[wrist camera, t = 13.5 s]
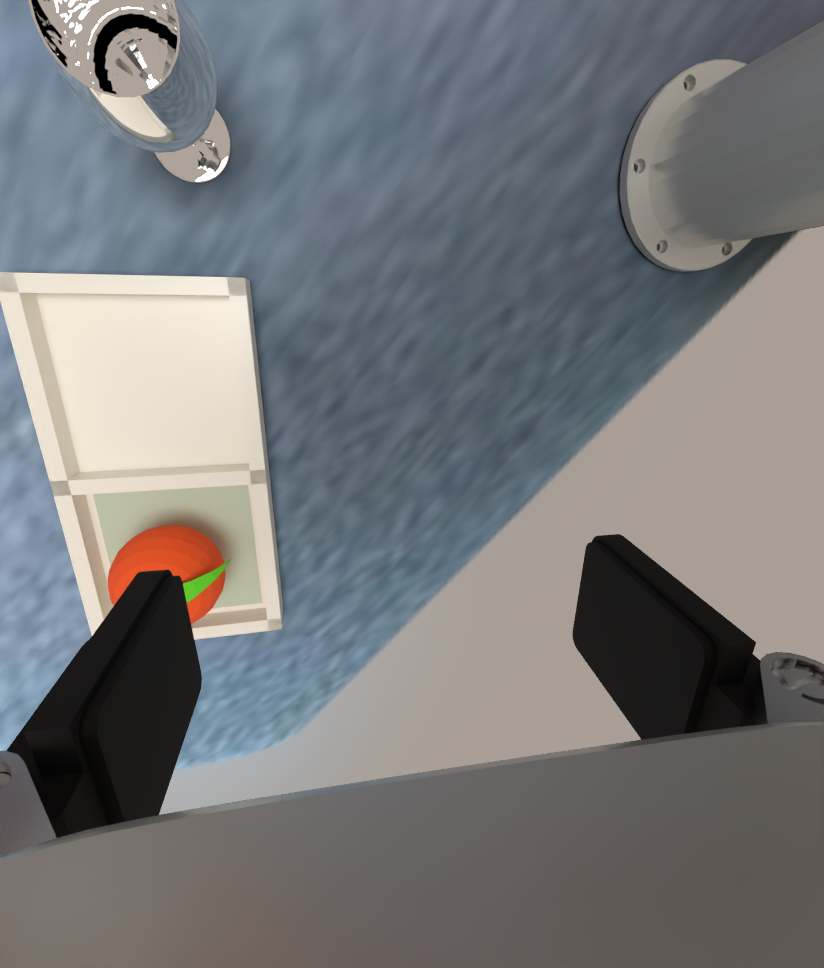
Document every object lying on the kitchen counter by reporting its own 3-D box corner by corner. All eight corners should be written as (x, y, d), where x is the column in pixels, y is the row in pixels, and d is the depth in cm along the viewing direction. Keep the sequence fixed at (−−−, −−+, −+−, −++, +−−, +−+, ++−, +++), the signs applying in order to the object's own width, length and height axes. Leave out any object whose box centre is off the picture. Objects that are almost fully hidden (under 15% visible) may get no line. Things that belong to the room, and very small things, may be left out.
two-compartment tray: (249, 280, 30) (244, 277, 28) (283, 610, 38) (281, 629, 36) (19, 275, 27) (-8, 272, 25) (109, 629, 36) (96, 651, 34)
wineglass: (224, 214, 28) (169, 150, 17) (122, 162, 27) (-11, 53, 16) (256, 115, 27) (219, -23, 16) (151, 53, 25) (29, -151, 14)
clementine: (217, 488, 33) (194, 531, 26) (262, 565, 36) (252, 621, 29) (109, 532, 33) (59, 587, 26) (163, 607, 35) (129, 674, 29)
